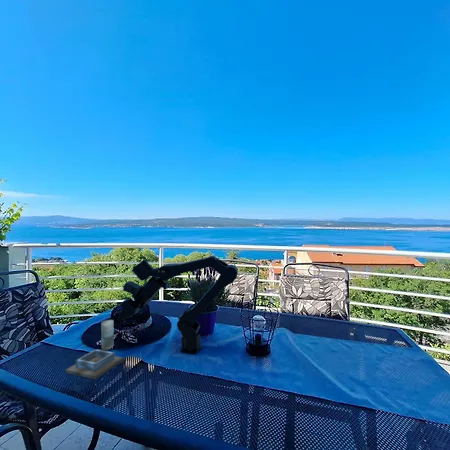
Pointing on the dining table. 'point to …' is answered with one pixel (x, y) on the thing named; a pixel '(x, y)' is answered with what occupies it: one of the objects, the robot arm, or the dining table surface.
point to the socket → (94, 364)
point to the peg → (107, 334)
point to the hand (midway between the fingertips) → (123, 316)
